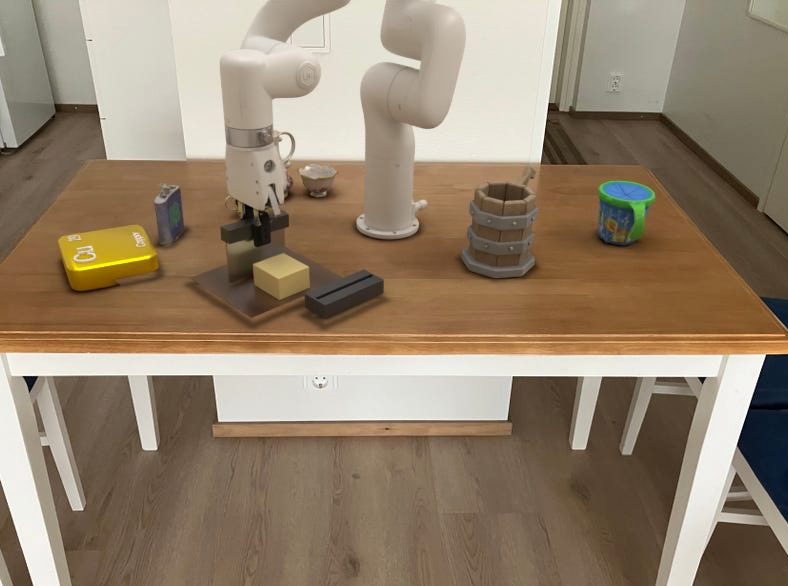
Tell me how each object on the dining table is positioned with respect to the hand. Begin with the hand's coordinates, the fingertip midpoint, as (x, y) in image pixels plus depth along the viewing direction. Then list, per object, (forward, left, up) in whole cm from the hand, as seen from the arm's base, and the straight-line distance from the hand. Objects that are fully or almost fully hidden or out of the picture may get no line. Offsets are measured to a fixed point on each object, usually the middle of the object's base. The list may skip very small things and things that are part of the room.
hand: (256, 240), depth 132 cm
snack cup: (-64, +32, -8) cm, 72 cm away
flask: (+2, -26, -8) cm, 27 cm away
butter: (0, +6, -6) cm, 9 cm away
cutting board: (0, +2, -8) cm, 8 cm away
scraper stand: (-5, +17, -8) cm, 19 cm away
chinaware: (-25, -28, -8) cm, 38 cm away
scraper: (0, 0, -6) cm, 6 cm away
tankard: (-41, +22, -8) cm, 47 cm away
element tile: (+17, -22, -8) cm, 29 cm away
